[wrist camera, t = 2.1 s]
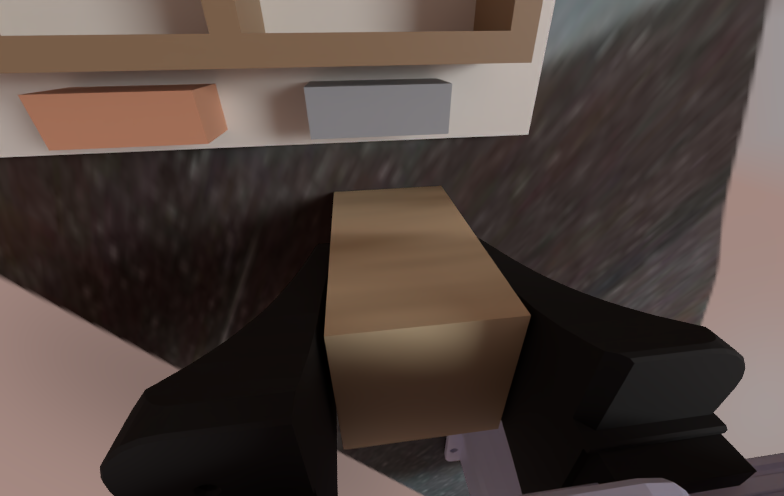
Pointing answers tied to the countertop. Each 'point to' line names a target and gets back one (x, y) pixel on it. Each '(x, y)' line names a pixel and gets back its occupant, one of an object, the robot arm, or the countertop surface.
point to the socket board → (263, 72)
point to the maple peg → (416, 320)
